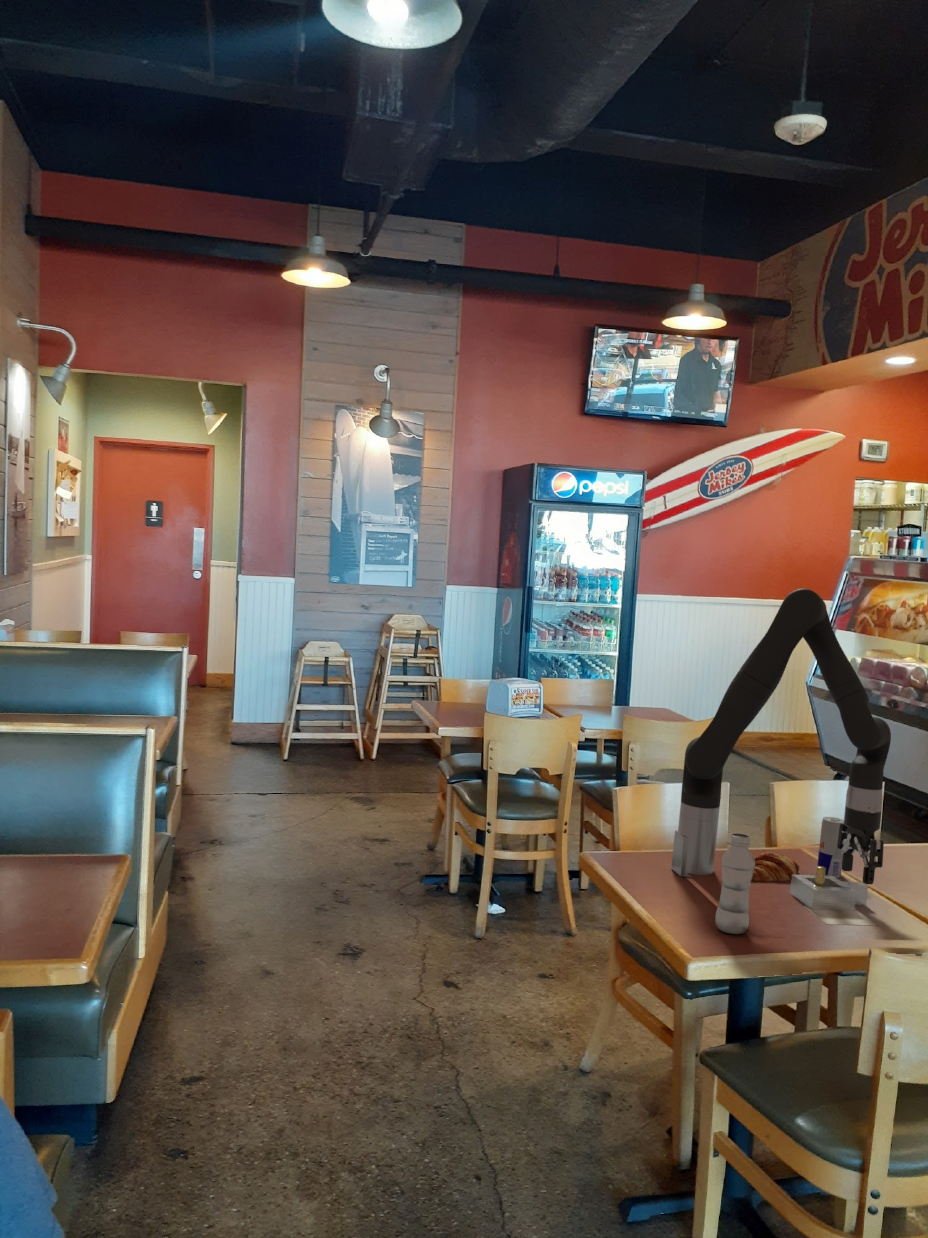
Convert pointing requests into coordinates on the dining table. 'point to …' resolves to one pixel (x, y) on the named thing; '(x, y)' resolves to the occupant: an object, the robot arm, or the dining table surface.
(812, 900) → the grey frame with handle
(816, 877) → the post
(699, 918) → the dining table surface
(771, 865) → the croissant
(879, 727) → the robot arm
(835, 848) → the beverage can
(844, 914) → the board
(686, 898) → the dining table surface
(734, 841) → the plastic bottle
